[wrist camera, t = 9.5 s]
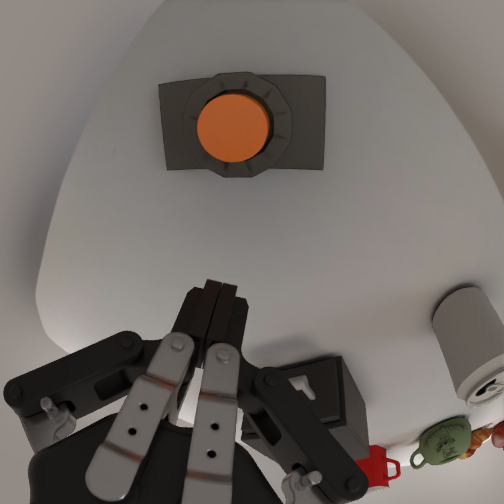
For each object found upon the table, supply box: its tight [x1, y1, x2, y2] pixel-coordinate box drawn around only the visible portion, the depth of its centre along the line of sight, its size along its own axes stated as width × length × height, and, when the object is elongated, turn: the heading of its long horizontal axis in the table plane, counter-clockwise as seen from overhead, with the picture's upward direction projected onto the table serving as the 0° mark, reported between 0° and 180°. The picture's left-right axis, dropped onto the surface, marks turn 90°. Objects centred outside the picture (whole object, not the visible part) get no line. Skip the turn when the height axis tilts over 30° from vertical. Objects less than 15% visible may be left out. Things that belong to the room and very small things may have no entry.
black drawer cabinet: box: [241, 356, 370, 464], centre depth 34 cm, size 15×13×10 cm
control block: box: [158, 72, 326, 178], centre depth 19 cm, size 12×7×3 cm, turn 92°
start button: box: [197, 93, 270, 162], centre depth 17 cm, size 4×4×2 cm
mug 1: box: [354, 445, 401, 494], centre depth 47 cm, size 12×8×11 cm
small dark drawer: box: [241, 358, 341, 433], centre depth 32 cm, size 18×11×8 cm, turn 29°
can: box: [433, 287, 504, 408], centre depth 22 cm, size 8×8×12 cm
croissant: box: [459, 428, 494, 459], centre depth 49 cm, size 21×10×8 cm, turn 138°
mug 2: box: [410, 417, 471, 469], centre depth 42 cm, size 16×13×9 cm
